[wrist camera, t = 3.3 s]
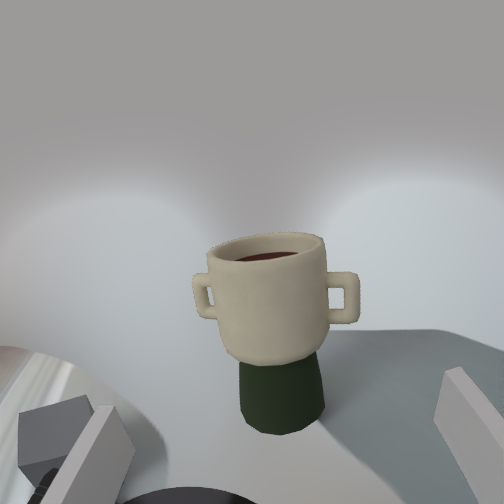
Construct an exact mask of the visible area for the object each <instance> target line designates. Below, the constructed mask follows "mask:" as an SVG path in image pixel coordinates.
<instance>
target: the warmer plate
mask: <svg viewBox="0 0 504 504" xmlns="http://www.w3.org/2000/svg"><path fill="white" fill-rule="evenodd" d="M123 504H256V503H254V502H252V501H250V500H248V499H246V498H244V497H241V496H239V495H236V494H233V493H230V492H226V491H222V490H217V489H212V488H203V487H176V488H168V489H162V490H158V491H153V492H150V493H147V494H143V495H141V496H138V497H136V498H133V499H131V500H129V501H127V502H125V503H123Z"/></svg>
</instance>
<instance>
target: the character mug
mask: <svg viewBox="0 0 504 504" xmlns="http://www.w3.org/2000/svg"><path fill="white" fill-rule="evenodd" d="M206 255H207V265H208V271H209V273H198V274H195V275H193V279H192V288H193V293H194V298H195V303H196V308H197V312H198V314H199V316H200V317H202V318H205V319H217V322H218V327H219V332H220V336H221V339H222V341H223V344H224V347H225V349H226V351H227V353H228V354H230V355H231V356H233V357H234V358H235V359H237V360H238V361H240V363H239V379H240V380H239V383H240V384H239V385H240V386H239V387H240V407H241V412H242V414H243V416H244V418H245V420H246V423H247V424H249V425H250V426H252V427H253V428H255V429H256V430H258V431H259V432H261V433H267V434H274V435H285V434H289V433H292V432H296V431H300V430H302V429H304V428H305V427H307V426H308V425H310V424H311V423H313V422H314V421H316V420H317V419H318V417H319V416H320V414H321V412H322V411H323V409H324V408H325V404H324V395H323V387H322V379H321V374H320V369H319V364H318V359H317V354H316V350H318V349H319V348H320V346H321V345H322V343H323V341H324V339H325V337H326V335H327V333H328V331H329V328H330V326H329V324H350V323H354V322H357V321H358V319H359V316H360V280H359V277H358V275H357V274H355V273H352V272H327V260H326V250H325V244H324V241H323V238H321V237H318V236H316V235H313V234H307V233H296V232H279V233H268V234H260V235H254V236H249V237H243V238H239V239H235V240H232V241H228V242H225V243H222V244H220V245H218V246H215V247H213V248H212V249H211V250H210V251H209V252H208V253H207V254H206ZM207 287H211V289H212V294H213V300H214V305H215V306H212V305H210V303H209V297H208V292H207ZM328 288H343V289H344V309H329V301H328Z"/></svg>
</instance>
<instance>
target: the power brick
mask: <svg viewBox="0 0 504 504" xmlns="http://www.w3.org/2000/svg"><path fill="white" fill-rule="evenodd" d="M93 414H94V410H93V408H92V406H91V404H90V402H89V400H88V398H87V396H86V395H83V396H79V397H76V398H73V399H69V400H66V401H63V402H59V403H56V404H52V405H48V406H45V407H41V408H37V409H34V410H30V411H26V412H22V413H19V422H18V467H19V468H20V470H21V471H22V472H23V474H24V475H25V476H26V477H27V478H28V480H29V481H30V482H31V483H32V485H33V486H34V487H35V488H37V487H39V483H40V482H41V480H42V478H43V477H44V475H45V474H46V473H48V472H49V471H50V470H51V469H52V468H57V469H60V468H61V466H62V465H63V463H64V461H65V460H66V458H67V456H68V455H69V453H70V451H71V450H72V448H73V446H74V445H75V443H76V441H77V440H78V438H79V436H80V435H81V433H82V431H83V430H84V428H85V427H86V425H87V423H88V422H89V420H90V418H91V417H92V415H93ZM123 483H124V482H123ZM115 504H118V503H117V502H115Z"/></svg>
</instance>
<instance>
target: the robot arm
mask: <svg viewBox="0 0 504 504" xmlns="http://www.w3.org/2000/svg"><path fill="white" fill-rule="evenodd" d="M433 421H434V423H435V424H436V426H437V428H438V429H439V431H440V433H441V435H442V436H443V438H444V440H445V442H446V443H447V445H448V447H449V449H450V450H451V452H452V454H453V456H454V458H455V459H456V461H457V463H458V465H459V467H460V469H461V470H462V472H463V474H464V476H465V478H466V480H467V482H468V484H469V485H470V487H471V489H472V491H473V493H474V495H475V497H476V499H477V501H478V503H479V504H504V419H503V417H502V416H501V415H500V414H499V412H498V411H497V410H496V409H495V407H494V406H493V405H492V404H491V403H490V401H489V400H488V399H487V398H486V396H485V395H484V394H483V393H482V392H481V390H480V389H479V388H478V387H477V386H476V384H475V383H474V382H473V381H472V380H471V379H470V377H469V376H468V375H467V374H466V373H465V372H464V370H463V369H462V368H461V367H460V366H459V367H456V368H453V369H450V370H446V371H445V372H444V376H443V381H442V386H441V390H440V394H439V398H438V403H437V406H436V410H435V414H434V418H433ZM135 452H136V449H135V447H134V445H133V443H132V441H131V439H130V437H129V435H128V433H127V431H126V429H125V427H124V425H123V423H122V421H121V419H120V416H119V414H118V412H117V410H116V408H115V406H111V405H99V406H98V407H97V409H96V410H95V412H94V414H93V415H92V417H91V418H90V420H89V422H88V423H87V425H86V427H85V428H84V430H83V431H82V433H81V435H80V436H79V438H78V440H77V441H76V443H75V445H74V446H73V448H72V450H71V451H70V453H69V455H68V456H67V458H66V460H65V461H64V463H63V465H62V466H61V468H60V469H57V468H52V469H51V470H50V471H49V472H48V473H46V474H45V475H44V477H43V478H42V480H41V482H40V483H39V487H37V488H36V490H35V492H34V493H35V494H33V495H32V497H31V498H30V500H29V502H28V503H27V504H115V501H116V499H117V496H118V494H119V491H120V489H121V486H122V484H123V481H124V479H125V476H126V474H127V471H128V469H129V466H130V464H131V462H132V459H133V457H134V454H135Z"/></svg>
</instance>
